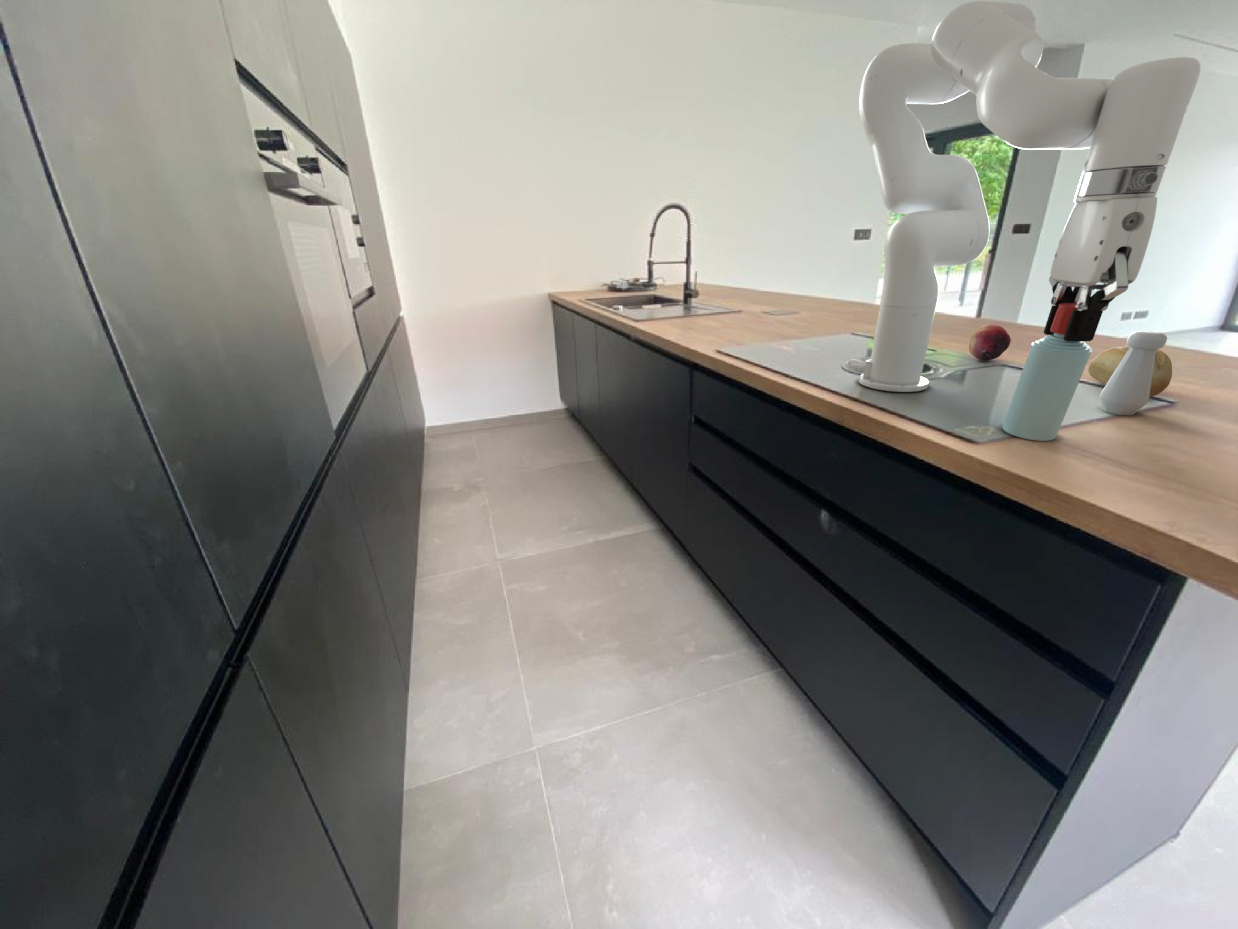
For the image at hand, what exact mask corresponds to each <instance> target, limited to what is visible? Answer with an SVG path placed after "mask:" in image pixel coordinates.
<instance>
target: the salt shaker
mask: <svg viewBox="0 0 1238 929" xmlns="http://www.w3.org/2000/svg"><path fill="white" fill-rule="evenodd" d="M1167 340H1168V337H1167V335H1166V334H1165V333H1163V332H1160V331H1152V330H1138V331H1134V332H1131V333H1130V334H1129V336H1128V337H1127V340H1126V346H1130V348H1129V349H1128V351H1127V352H1126V354H1125V356H1124V357H1123V359H1122V360H1121V362H1120V363H1119V365H1118V367H1117V368H1116V370H1115V371H1114V373H1113V375H1112V376H1111V378H1110V379H1109V381H1108V382H1107V384H1106V385H1104V387H1103V389H1102V391H1100V394H1099V400H1100V402H1099V403H1100V408H1101V410H1102V411H1103V412H1105V413H1109V414H1113V415H1117V416H1134V415H1135V414H1136V413H1137V412H1138V411H1140V410H1141V409H1142V408H1143V407H1145V406H1146V405H1147V404H1148V403H1149V401H1150V397H1149V395H1150V387H1151V380H1152V373H1153V366H1154V360H1155V354H1156V349H1158V350H1160V349H1163V348H1164V347H1165V345H1166V344H1167V342H1168V341H1167Z"/></svg>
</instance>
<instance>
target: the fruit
mask: <svg viewBox="0 0 1238 929" xmlns="http://www.w3.org/2000/svg"><path fill="white" fill-rule="evenodd" d="M1011 342H1012V339H1011V336H1010V334H1009V333H1008V331H1007V330H1006V329H1005V328H1004V327H1003V326H1001V325H998V324H985V325H982V326H980V327H978V328H976V329H975V330H973V331H972V332H971V335H970V339H969V344H968V350H969V353H970V354H971V355H972V356H973V357H974V358H975V359H977V360H980V361H982V362H983V361H984V362H988V361H992V360H995V359H998V358H999V357H1000V356H1002V355H1003V354H1004V352H1005V351H1007V350H1008V349H1009V347H1010V345H1011Z"/></svg>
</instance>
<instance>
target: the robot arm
mask: <svg viewBox="0 0 1238 929" xmlns="http://www.w3.org/2000/svg"><path fill="white" fill-rule="evenodd" d="M1036 26H1037V23H1036V17H1035V15H1034V12H1033V11H1032V10H1031V8H1030V7H1028V6H1027V5H1025V4H1022V3H1017V2H1002V1H986V0H974V1H969V2H965V3H962V4H960V5H958V6H956V7H955V8H953V9H952V10H950V11H949V12H948V13H946V15H944V17H943V18H942V19H941V20H940V22H939V23H938V24H937V26H936V28H935V30H934V32H933V34H932V37H931V42H930V43H921V42H920V43H919V42H909V43H900V44H895V45H892V46H889V47H887V48H885V49H883V50H881V51H880V52H878V53H877V54H876V55H875V56H874V57H873V59H872V60H871V61H870V62H869V64H868V66H867V68H866V70H865V72H864V75H863V78H862V81H861V85H860V90H859V97H858V111H859V112H858V113H859V118H860V123H861V126H862V130H863V132H864V134H865V138H866V139H867V142H868V144H869V147H870V149H871V154H872V156H873V162H874V167H875V171H876V176H877V180H878V184H879V189H880V194H881V198H882V201H883V203H884V204H883V205H884V206H885V208H886V209H887V210H888V211H889V212H891V213H894V214H899V215H902V216H900V217H899V218H898V219H897V220H895V221H894V222H893V223H892V224H891V226H890V227H889V229H888V231H887V233H886V235H885V239H884V246H883V251H884V252H883V256H884V257H883V258H884V274H883V282H882V283H883V284H882V292H881V297H880V303H879V309H878V315H877V320H876V327H875V333H874V338H873V344H872V348H871V354H870V355H871V357H870V358H869V359H865V360H861V359H860V360H859V359H854V358H850V359H849V360H848V362H847V368H848V369H850V370H851V371H860V372H861V374H860V375H859V377H858V382H859V384H861V385H862V386H864V387H867V388H870V389H873V390H877V391H878V390H879V391H882V392H883V391H885V392H892V393H914V392H920V391H921V392H922V391H924V390H926V389H928V388H929V384H930V381H929V380H928V379H927V378H925V377H924V376H922V374H923V369H924V365H925V361H926V357H927V356H926V355H927V352H928V346H929V344H930V338H931V333H932V328H933V325H934V321H935V320H934V319H935V317H936V316H935V315H936V310H937V307H938V301H939V295H940V285H939V279H938V276H937V273H936V269H935V268H941V267H957V266H963V265H967V264H969V263H971V262H973V261H975V260H976V259H978V258H979V257H980V255H982V254H983V252H984V251H985V249H986V247H987V245H988V243H989V239H990V231H991V230H990V229H991V226H990V219H989V215H988V211H987V210H988V209H987V207H986V202H985V199H984V195H983V191H982V190H983V189H982V186H981V183H980V178H979V175H978V172H977V169H976V167H975V165H974V164H973V163H972V162H971V161H970V160H969V159H968V158H966V157H965V156H962V155H958V154H957V155H956V154H936V153H934V152H932V151H931V150H930V148H929V145H928V142H927V139H926V133H925V130H924V127H923V124H922V123H921V121H920V120H919V119H918V117H917V116H916V115H915V113H914V112H912V110H911V109H910V108H909V106H908V105H939V104H944V103H948V102H951V101H953V100H955V99H957V98H959V97H961V96H963V95H965V94H967V93H969V92H970V93H972V94H973V95H975V97H976V98H975V99H976V100H975V107H976V114H977V117H978V119H979V121H980V122H981V124H982V125H983V126H984V127H985V128H986V129H988V130H989V131H990V132H991V133H992V134H994V135H995V136H997V137H998V138H999V139H1001V141H1003V142H1004V143H1006V144H1007V145H1010V146H1012V147H1014V148H1017V149H1021V150H1027V151H1029V150H1031V151H1033V150H1035V151H1036V150H1060V151H1065V150H1069V151H1070V150H1071V151H1072V150H1073V151H1074V150H1075V151H1076V150H1087V149H1089V150H1088V153H1087V157H1086V160H1085V163H1084V166H1083V169H1082V172H1081V176H1080V179H1079V183H1078V185H1077V189H1076V192H1075V195H1074V199H1073V203H1074V206H1073V207H1072V210H1071V211H1070V214H1069V217H1068V219H1067V220H1066V221H1067V222H1066V224H1065V226H1064V229H1063V231H1062V234H1061V236H1060V239H1059V241H1058V245H1057V248H1056V250H1055V253H1054V257H1053V261H1052V264H1051V268H1050V274H1049V275H1050V276H1049V279H1048V281H1049V284H1050V286H1051V290H1052V297H1051V300H1050V304H1051V308H1050V311H1049V313H1048V316H1047V320H1046V323H1045V326H1044V330H1043V334H1044V335H1046V336H1050V335H1051V334H1054V333H1053V332H1051V331H1050V328H1051V325H1052V322H1053V319H1054V317H1055V314H1056V311H1057V309H1058V308H1059V304H1062V303H1078V310H1073V311H1072V314H1071V317H1070V320H1069V323H1068V326H1067V329H1066V332H1065V335H1064V340H1065V341H1084V342H1091V341H1093V340H1094V338H1095V334H1096V332H1097V329H1098V327H1099V323H1100V321H1101V318H1102V316H1103V313H1104V311H1105V312H1106V310H1108V308H1109V306H1110V303H1111V302H1112V301H1113V300H1114V299H1116V297H1118V296H1120V295H1122V294H1123V293H1125V292H1126V291H1127V290H1128V289H1129V285H1130V284H1132V283H1134V282H1135V281H1136V279H1137V278H1138V276H1139V273H1140V270H1141V268H1142V264H1143V262H1144V260H1145V256H1146V252H1147V248H1148V245H1149V243H1150V239H1151V236H1152V235H1151V234H1152V232H1153V228H1154V223H1155V218H1156V212H1157V206H1158V205H1157V204H1158V197H1157V193H1158V191H1159V188H1160V185H1161V182H1162V180H1163V177H1164V175H1165V172H1166V168H1167V167H1168V166H1167V165H1168V163H1169V160H1170V157H1171V156H1172V152H1173V150H1174V147H1175V144H1176V141H1177V138H1178V135H1179V133H1180V130H1181V128H1182V125H1183V122H1184V119H1185V117H1186V114H1187V111H1188V108H1189V105H1190V103H1191V101H1192V98H1193V94H1194V92H1195V89H1196V87H1197V84H1198V81H1199V78H1200V75H1201V71H1202V69H1201V68H1202V66H1201V62H1200V61H1199V60H1198V59H1197V58H1194V57H1188V56H1180V57H1169V58H1163V59H1157V60H1151V61H1147V62H1143V63H1139V64H1136V65H1133V66H1130V67H1128V68H1126V69H1123V70H1122V71H1121V72H1118V74H1117V75H1115V76H1114V78H1090V77H1089V78H1088V77H1087V78H1085V77H1084V78H1083V77H1056V76H1053V75H1050V74H1048V73H1046V72H1045V71H1043V70H1041V69H1039V68H1038V66H1039V63H1040V62H1041V59H1042V56H1043V52H1044V41H1043V38H1042V36H1041V34H1040V33H1038V32H1037V31H1036ZM1098 283H1099V284H1098ZM1093 291H1095V292H1094V293H1093ZM1092 293H1093V294H1092Z"/></svg>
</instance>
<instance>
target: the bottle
mask: <svg viewBox="0 0 1238 929" xmlns="http://www.w3.org/2000/svg"><path fill="white" fill-rule="evenodd" d="M1029 348H1030V349H1029V350H1028V354H1027V357H1026V359H1025V362H1024V365H1023V368H1022V371H1021V374H1020V376H1019V379H1018V381H1017V385H1016V388H1015V390H1014V392H1013V396H1012V398H1011V401H1010V403H1009V407H1008V409H1007V412H1006V414H1005V418H1004V421H1003V423H1002V425H1001V428H1002V430H1003V431H1004V432H1005V433H1007V434H1009V435H1011V436H1014V437H1016V438H1020V439H1023V440H1024V439H1025V440H1028V441H1038V442H1046V441H1047V442H1049V441H1053V440H1055V439H1056V438H1057V436H1058V433H1059V431H1060V428H1061V426H1062V424H1063V421H1064V419H1065V416H1066V414H1067V412H1068V409H1069V407H1070V405H1071V402H1072V401H1073V398H1074V395H1075V393H1076V390H1077V388H1078V385H1079V383H1080V381H1081V379H1082V376H1083V374H1084V371H1085V368H1086V366H1087V364H1088V362H1089V360H1090V357H1091V354H1092V353H1093V351H1092V347H1091V346H1090V345H1089V344H1088V343H1087V342H1086V341H1065V340H1064V335H1063V334H1057V333H1054V334H1051V335H1046V336H1045V337H1042V338H1040V339H1037V340H1035V341H1034V342H1032V343H1031V345H1030V347H1029Z"/></svg>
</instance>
